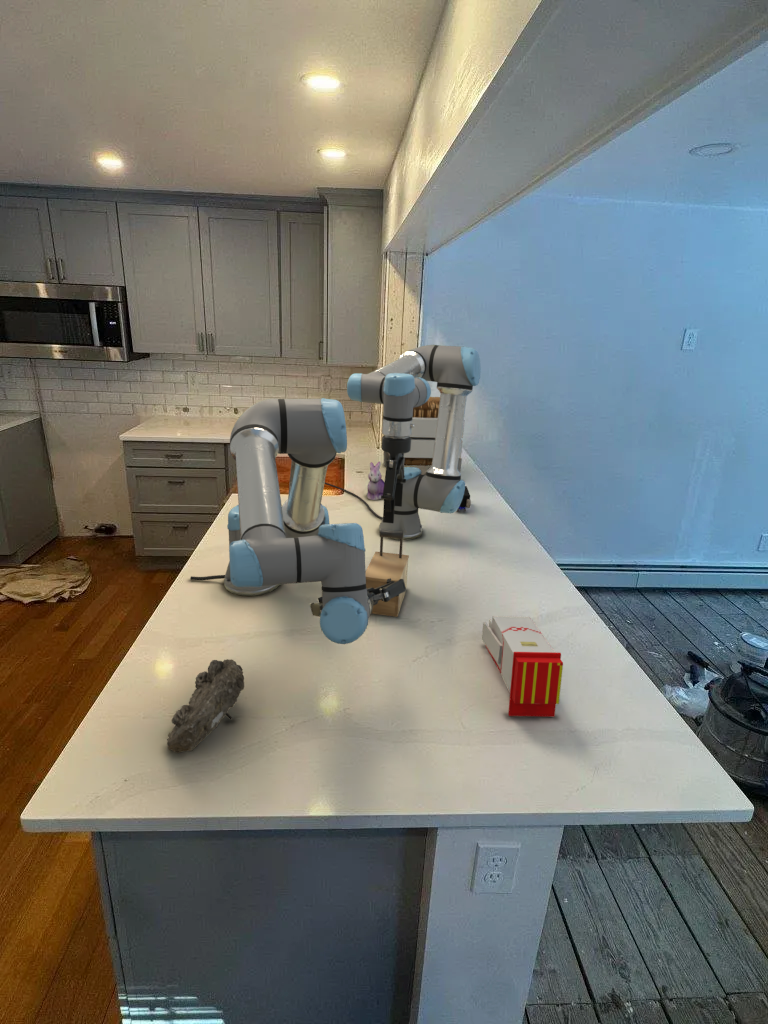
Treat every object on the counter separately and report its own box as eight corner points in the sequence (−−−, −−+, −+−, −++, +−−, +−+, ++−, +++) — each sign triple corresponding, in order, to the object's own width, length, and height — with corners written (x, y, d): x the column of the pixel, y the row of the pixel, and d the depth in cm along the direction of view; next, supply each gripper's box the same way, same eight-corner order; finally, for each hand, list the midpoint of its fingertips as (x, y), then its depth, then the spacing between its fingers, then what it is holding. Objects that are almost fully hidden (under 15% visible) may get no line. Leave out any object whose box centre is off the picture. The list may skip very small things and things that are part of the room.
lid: (375, 554, 160) (376, 526, 157) (408, 557, 158) (410, 529, 155) (362, 579, 144) (363, 548, 142) (399, 583, 143) (401, 553, 140)
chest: (373, 585, 162) (374, 555, 159) (406, 589, 160) (408, 559, 157) (361, 612, 148) (362, 579, 144) (397, 617, 146) (399, 584, 143)
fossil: (192, 660, 117) (244, 628, 112) (224, 691, 120) (276, 661, 115) (142, 746, 98) (202, 712, 93) (182, 779, 101) (242, 748, 96)
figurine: (371, 501, 231) (372, 466, 226) (360, 494, 239) (361, 460, 234) (391, 499, 235) (393, 464, 230) (380, 492, 244) (382, 458, 238)
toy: (528, 601, 136) (572, 659, 107) (523, 653, 139) (565, 722, 110) (478, 600, 136) (508, 657, 107) (474, 652, 139) (503, 722, 109)
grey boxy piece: (382, 463, 289) (386, 382, 275) (445, 464, 293) (451, 384, 279) (390, 482, 257) (394, 392, 243) (460, 483, 261) (468, 394, 247)
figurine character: (470, 516, 223) (465, 500, 237) (473, 499, 220) (467, 484, 233) (453, 516, 223) (449, 500, 236) (455, 498, 220) (451, 483, 233)
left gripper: (292, 644, 105) (311, 623, 126) (422, 610, 104) (419, 594, 125) (281, 605, 105) (302, 590, 126) (411, 570, 104) (411, 561, 125)
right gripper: (403, 447, 133) (399, 531, 140) (417, 427, 156) (412, 500, 163) (372, 445, 134) (369, 528, 141) (390, 425, 157) (387, 498, 164)
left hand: (361, 592), depth 126 cm, fingers open, 13 cm apart
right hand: (392, 513), depth 152 cm, fingers open, 13 cm apart
